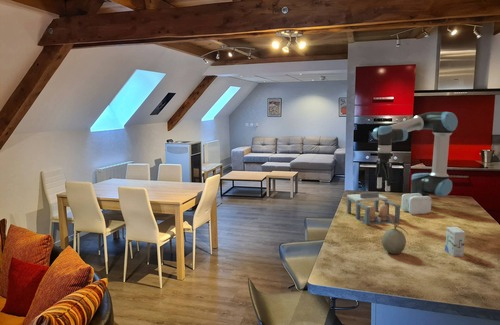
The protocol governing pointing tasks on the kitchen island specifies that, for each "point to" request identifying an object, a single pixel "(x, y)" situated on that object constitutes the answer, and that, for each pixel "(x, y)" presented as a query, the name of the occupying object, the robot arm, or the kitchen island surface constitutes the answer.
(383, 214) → the pink rounded capsule
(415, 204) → the cable organizer
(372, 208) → the seated rounded capsule
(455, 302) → the kitchen island surface
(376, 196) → the lid
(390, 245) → the fruit
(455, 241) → the ink box
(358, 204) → the housing
